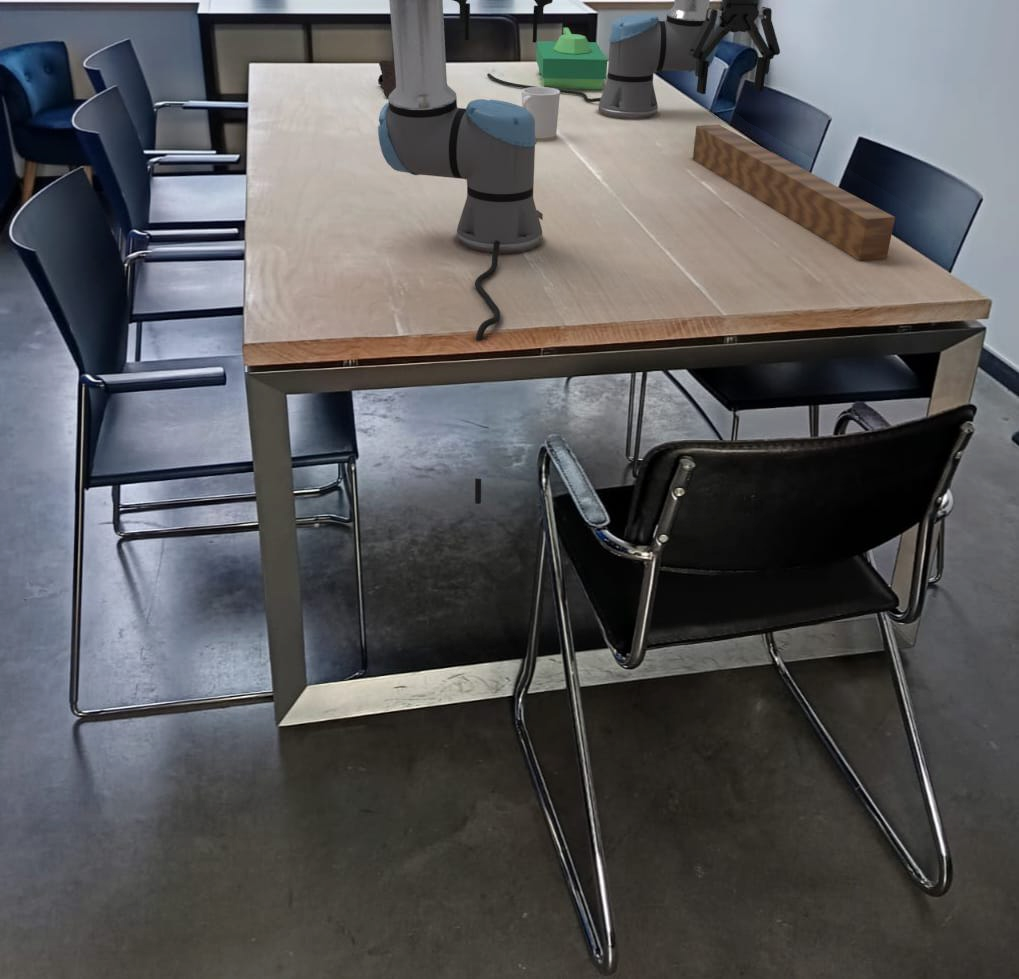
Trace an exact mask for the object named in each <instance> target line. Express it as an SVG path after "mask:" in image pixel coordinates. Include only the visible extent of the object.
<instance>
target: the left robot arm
mask: <svg viewBox="0 0 1019 979" xmlns="http://www.w3.org/2000/svg"><path fill="white" fill-rule="evenodd" d="M452 1H454V2H457V3H458V5H459V21H460V22H463V23H464V41H470V39H471V3H470V2H469V3H468V0H452ZM533 1H534V2H535V4H536V5H533V15H532V20H533V21H532V43H537V41H538V25H543V22H544V8H545V6H547V5H550V4H552V3H553V0H533ZM388 2H389V13H390V25H391V37H392V51H393V61H394V64H395V76H396V88H395V89H394V90H393V91H392V92H391V94H390V95H389V97H388V98H387V99H388V102H386V103H385V104H384V105H383V106H382V108H381V110H380V113H379V116H378V122H379V125H378V126H377V133H378V134H377V135H378V141H379V147H380V151H381V154H382V156H383V158H384V161H385V162H386V164H388V166H389V167H391V168H392V169H393V170H394V171H396V172H400V173H406V174H410V175H413V176H430V177H440V178H451V179H461V180H465V181H466V192H467V193H466V198H465V202H464V205H463V209H462V211H461V214H460V218H459V220H458V224H457V227H456V241H457V243H458V244H459V245H461V246H462V247H464V248H466V249H468V250H470V251H475V252H479V253H486V254H491V265H490V267H489V268H488V269H487V270H486V271H484V272H483V273H482V274H480V275H478V276H477V278H476V279H475V281H474V287H475V290H476V291H477V293H478V294H479V295H480V297H481V298H483V300H484V301H485V303H486V304H487V306H488V308H490V310H491V311H492V313H493V317H490V318H488V319H486V320H484V321H483V322H481V324H480V325H479V327H478V330H477V331H476V332H477V333H476V337H475V341H476V342H482V341H483V339H484V334H485V331H486V330H487V328H489V327H490V326H493V325H495V324H497V323H498V322H499V321H500V319H501V312H500V309H499V307H498V306H497V305H496V303H495V302H494V300H493V299H492V298H491V296H490V295H489V293H488V292H487V291H486V290H485V288H483V286H482V283H483V282H484V281H485V280H487V279H488V278H489V277H491V276H492V275H493V274H494V273H495V272H496V270H497V267H498V263H499V254H500V255H506V254H507V255H508V254H517V253H524V252H527V251H530V250H533V249H536V248H538V247H539V246H540V245H541V244H542V243H543V229H542V224H541V221H543V217H544V214H543V212H541V211H539V209H537V206H536V204H535V199H534V184H535V181H534V180H535V158H536V156H535V155H536V144H537V140H536V138H535V121H534V118H533V116H532V114H531V113H530V112H529V111H528V110H526V109H525V108H523V107H522V105H521V106H520V105H518V104H516V103H512V102H509V101H504V100H499V99H486V98H485V99H484V98H480V99H474V100H471V101H469V102H468V104H467V106H466V107H465V108H464V107H458V101H457V100H458V99H457V92H456V91H455V90H454V89H453V88H451V86H449V85H448V79H447V78H448V77H447V61H446V60H447V59H446V58H447V57H446V40H445V38H446V36H445V21H444V20H445V19H444V0H388ZM540 220H541V221H540ZM474 504H476V505H479V504H482V479H481V478H475V479H474Z"/></svg>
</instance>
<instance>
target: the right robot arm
mask: <svg viewBox="0 0 1019 979" xmlns="http://www.w3.org/2000/svg"><path fill="white" fill-rule="evenodd" d="M721 4H722V5H721V8H720V9H715V8H712V7H711V8H710V0H673V5H672V7H671V8H670V9H669V10H668V11H667V12H666V18H665V19H666V20H660V18H659V16H658V15H657V14H654V13H637V14H629V15H623V16H621V17H618V18H616V19H615V20H614V21H613V22H612V23H611V26H610V33H609V38H608V42H609V51H608V62H607V77H606V83H605V86H604V89H603V92H602V93H601V97H594V98H589V97H588V95H587V94H586V93H585V92H582V91H579V90H573V89H557V90H559V91H560V94H568V95H569V94H570V95H576V96H581V97H583V99H584V101H585V102H587V103H597V102H598V110H597V111H598V114H600V115H603V116H605V117H608V118H609V117H610V118H615V119H622V120H623V119H624V120H640V119H641V120H642V119H649V118H653V117H655V116H657V115H658V111H659V110H658V109H659V106H658V100H657V97H656V96H657V95H656V91H655V87H654V73H655V71H661V72H663V71H664V72H666V71H667V72H668V71H669V72H672V71H673V72H689V73H691V72H694V75H695V77H697V82H696V92H697V93H699V94H701V95H706V92H707V84H708V75H709V67H710V66H711V65H712V63H713V61H714V59H715V57H716V53H717V49H718V45H719V44H720V42H721V41H722V40H723V38H724V37H725V36H727V35H728V34H729V33H738V32H741V33H748V35H749V37H750V38H751V40H752V42H753V43H754V45H755V47H756V49H757V50H758V52H759V53H760V55H761V56H757V60H756V66H755V67H756V68H755V76H754V83H753V90H755V91H758V92H764V88H765V86H764V85H765V79H766V75H768V74H769V71H770V66H771V65H770V64H771V60H773V59H774V57H775V56H778V55H780V53H781V49H780V46H779V42H778V38H777V34H776V31H775V28H774V24H773V19H772V12H773V11H772V8H770V7H767V6H761V7H760V8H759V4H760V0H721ZM719 18H720V22H719V23H718V22H717V21H718V20H719ZM758 18H759V20H760V23H761V26H762V31H763V34H764V37H765V39H764V38H763V36H762V34H761V33H760V31H759V28H758V26H757V24H756V20H757V19H758ZM486 77H488V78H489V79H490V80H492V81H494V82H496V83H499V84H501V85H505V86H508V87H509V86H510V87H513V88H520V89H525V88H530V87H537V85H536V86H535V85H528V84H520V83H515V82H509V81H506V80H502V79H500V78H497V77H495V76H493V75H492V74H491V73H490V72H489V73H487V74H486Z"/></svg>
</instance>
